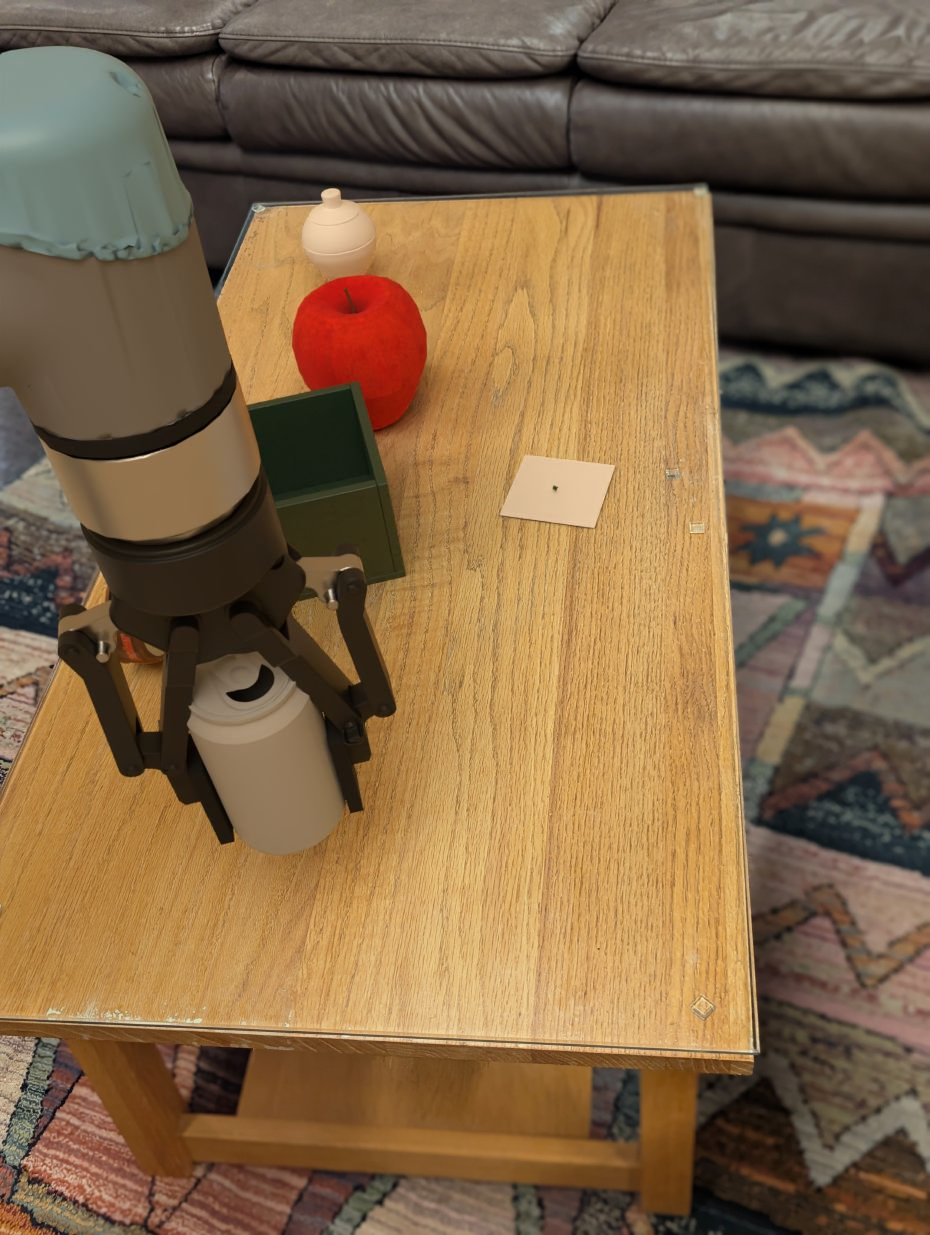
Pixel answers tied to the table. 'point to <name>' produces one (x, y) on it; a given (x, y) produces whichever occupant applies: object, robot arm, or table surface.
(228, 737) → the beverage can
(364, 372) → the apple
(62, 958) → the table surface
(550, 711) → the table surface
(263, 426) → the waste bin
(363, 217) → the spinning top
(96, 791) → the table surface
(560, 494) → the coaster
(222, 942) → the table surface
